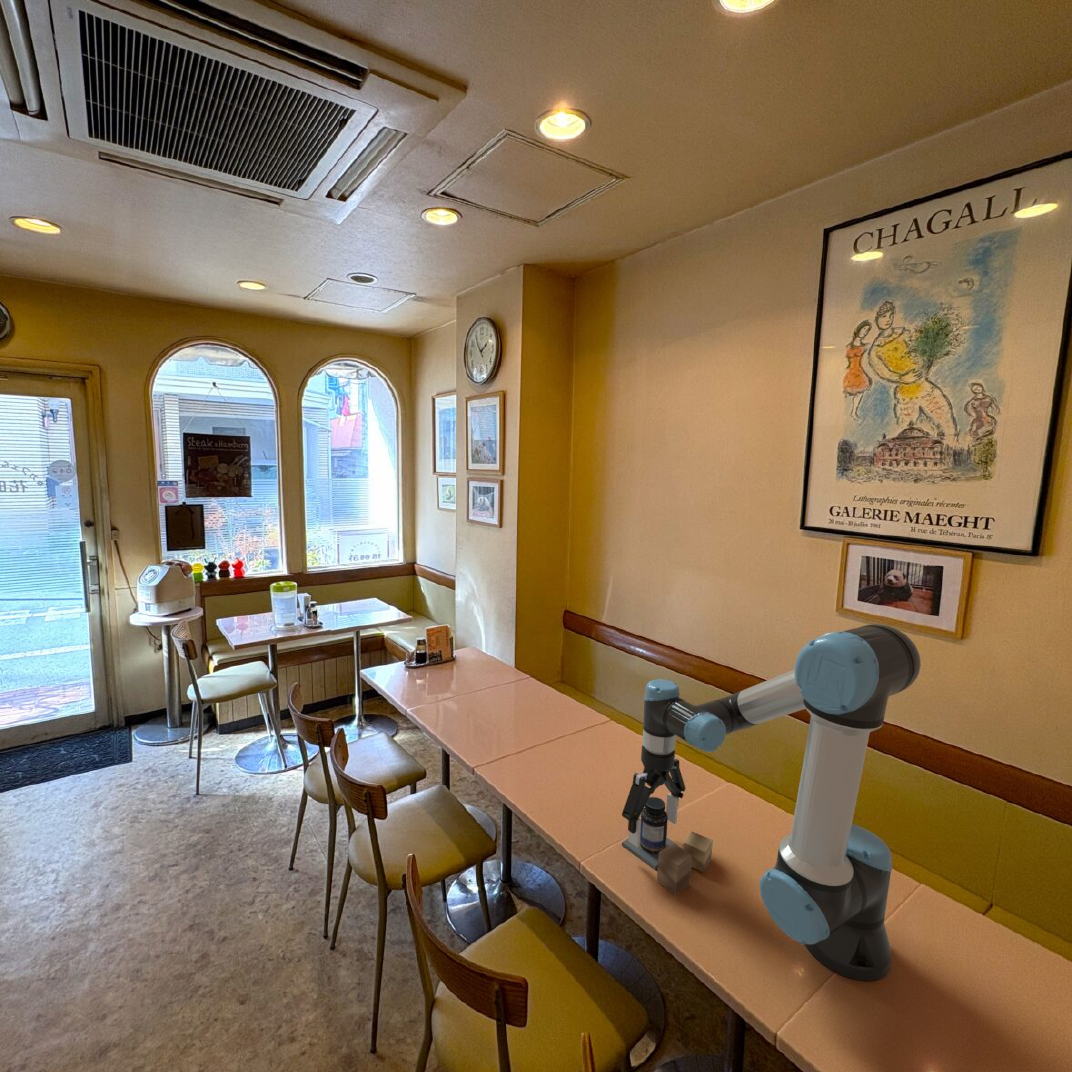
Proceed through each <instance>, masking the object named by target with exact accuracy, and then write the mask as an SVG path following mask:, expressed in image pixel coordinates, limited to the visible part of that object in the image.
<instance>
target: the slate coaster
mask: <svg viewBox="0 0 1072 1072" xmlns="http://www.w3.org/2000/svg"><path fill="white" fill-rule="evenodd" d="M672 843H674V844H676V845H677V846H679V847H680V848H682V849H683V847H682V846H680V845H679V844H677V843H676V842H674V841H673V840H671V839H670V838H669V837H667V838H666V847H668V846H669V845H671V844H672ZM621 846H622V847H624V849H626V850H628V851H629V852H630V853H631V854H633V855H634V856H636V857H637V858H639V859H640V860H641V861H642V862H644V863H645V864H647V866H650V867H651V868H652V869H654V870H658V856H659V853H650V852H647V851H645V850H644V849H643V848H642V847H641V845H639V847H636V846H635V845H633V844H632V843H630V842H629V841H628V838H627V839H625V840H623V841H622V842H621Z"/></svg>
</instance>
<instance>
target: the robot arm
mask: <svg viewBox="0 0 1072 1072" xmlns="http://www.w3.org/2000/svg"><path fill="white" fill-rule="evenodd" d="M920 655H921V654H920V652H919V651H918V648H917V645H916V644H915V643H914V641H913V640H912V639H911V638H910V637H909V636H908V635H907V634H906V633H904V632H902V631H901V630H899V629H897V628H894V627H892V626H890V625H884V624H878V623H877V624H876V623H875V624H874V623H873V624H866V625H862V626H859V627H855V628H854V627H853V628H850V629H847V630H842V631H839V630H838V631H833V632H832V631H831V632H827V633H824V634H822V635H821V636H819V637H817V638H814V639H812V640H811V641H809V642H807V643H806V644H804V646H803V647H802V649H801V650H800V651H799V653H798V654H797V657H796V659H795V662H794V663H795V664H794V669H792V670H790V671H788V672H785V673H782V674H780V675H777V676H775V677H772V678H770V679H768V680H765V681H762V682H760V683H758V684H755V685H753V686H749V687H747V688H745V689H743V690H740V691H738V692H735V693H732V694H730V695H728V696H727V695H726V696H723V697H721V698H717V699H714V700H710V701H707V702H704V703H700V704H697V705H695V704H692V703H691V702H689V701H687V700H684V699H683V698H681V697H680V695H681V694H680V688H679V685H678V684H677V683H675V682H674V681H671V680H670V679H669V680H668V679H664V678H659V679H653V680H649V681H648V682H647V683H646V685H645V693H644V697H643V701H644V703H643V704H644V706H643V724H642V727H643V728H642V729H643V730H642V743H641V744H642V746H641V754H640V758H641V759H640V761H641V762H642V765H643V771H642V773H641V774H639V773H636V772H635V773H634V774H633V778H632V784H631V786H630V790H629V792H628V795H627V797H626V798H627V799H626V801H625V804H624V807H623V809H622V812H621V816H622V817H623V818H624V819H626V820H627V822H628V824H627V830H628V837H627V839H628V841H629V842H630V843H632V844H633V845H635V846H636V847H639V845H640V829H641V813H642V811H643V809H644V808H645V805H646V803H647V801H648V799H649V797H651V795H652V794H654V793H655V791H656V789H658V788H659V787H660V786H663V785H664V786H665V787H666V789H667V790H668V791H669V792H668V793H667V794H666V804H665V811H666V813H667V816H668V822H671V823H672V824H674V825H676V824H677V821H678V807H679V801H680V799H683V797H684V792H685V791H686V785H685V781H684V779H683V776H682V772H681V768H680V760H679V759H677V758H676V744H677V737H679V738H680V739H681V740H683V741H685V742H686V743H688V744H689V745H690V746H691V747H694V748H696V749H700V750H701V751H703V752H706V753H712V752H715V751H717V750H718V747H721V746H722V745H723V743H724V740H725V738H726V736H727V735H730V734H732V733H736V732H739V731H742V730H745V729H750V728H752V727H754V726H756V725H759V724H763V723H766V722H769V721H772V720H775V719H778V718H782V717H784V716H787V715H790V714H794V713H796V712H800V711H803V710H806V711H807V712H808V714H809V715H810V719H809V725H808V726H809V727H808V731H807V732H808V733H807V738H806V745H805V751H804V754H803V755H804V756H803V761H802V769H801V773H800V780H799V784H798V791H797V797H796V802H795V809H794V815H793V820H792V825H791V831H790V834H787V835H785V836H784V837H782V838H781V839H780V842H779V844H778V850H777V851H778V852H777V857H776V862H775V865H774V867H772V868H769V869H767V870H766V872H765V873H763V875H761V877H760V880H759V892H760V897H761V899H762V903H763V905H764V907H765V909H766V911H768V914H769V916H770V918H771V920H773V922H774V923H775V924H776V925H777V927H778V928H779V929H780V930H781V931H782V932H783V933H784V934H785V935H787V936H788V937H790V938H791V939H792V940H794V941H796V942H798V943H800V944H803V945H805V947H806V949H807V950H808V951H809V952H810V954H811V955H812V956H813V957H814V958H816V960H817V961H818V962H819V963H820V964H822V965H823V966H825V967H827V968H828V969H830V970H831V971H833V972H835V973H836V974H839V975H841V976H844V977H846V978H849V979H852V980H856V981H862V982H873V981H878V980H880V979H883V978H884V977H886V975H887V974H888V973H889V971H890V969H891V962H892V950H891V946H890V942H889V941H890V940H889V938H888V933H887V929H886V925H885V917H886V910H887V902H888V896H889V888H890V881H891V873H892V871H893V866H892V860H893V859H892V858H893V856H892V852H891V849H890V848H889V847H888V845H887V843H885V841H884V840H883V839H881V838H880V837H879V836H878V835H876V834H875V833H873V832H871V831H870V830H867V829H865V828H863V827H861V826H858V825H856V824H853V819H854V816H855V815H854V814H855V809H856V806H857V800H858V799H857V798H858V796H859V795H858V794H859V790H860V789H859V788H860V786H861V785H860V783H861V779H862V773H863V769H864V764H865V758H866V752H867V748H868V743H869V739H870V738H869V737H870V733H871V732H874V731H877V730H879V729H881V728H882V727H883V725H884V719H885V717H886V710H887V706H888V700H889V698H890V697H891V696H894V695H896V694H899V693H901V692H903V691H905V690H907V689H908V688H910V686H912V685H913V684H914V683H915V681H916V680H917V679H918V676H919V674H920V670H921V656H920ZM646 785H647V786H646ZM679 798H680V799H679Z"/></svg>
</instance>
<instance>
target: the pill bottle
mask: <svg viewBox="0 0 1072 1072" xmlns="http://www.w3.org/2000/svg"><path fill="white" fill-rule="evenodd" d="M640 819H641V829H640V845H641V847H642V848H643V849H644V850H645V851H647V852H650V853H659V852H660V851H661V850H663V849H665V848H666V838H668V836H667V835H668V822H669V820H668V816H667V813H666V803H665V801H664V799H662V798H660V797H657V796H650V797H649V799H648V801H647V803H646V805H645V807H644V809H643V811H642V813H641V815H640Z"/></svg>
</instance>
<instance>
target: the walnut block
mask: <svg viewBox="0 0 1072 1072" xmlns="http://www.w3.org/2000/svg"><path fill="white" fill-rule="evenodd" d="M674 843H675V842H674ZM674 843H672V844H671V845H669V846H668V847H666V848H665V849H663V850H661V851H660V852H659V856H658V868H657V873H656V874H657V875H656V883H658V884H660V885H661V886H662V887H664V888H665V889H666V890H667V891H670V893H672V894H673V895H674V896H677V895H678V894H680V893H681V892H682V891H683V890H685V889H687V888H688V887H689V886H690V885H691V875H692V866H691V864H692V855H691V854H689V853H688V852H686V851H685V850H683V849H682V848H683V847H682V848H680V847H681V846H680V845H679V846H680V847H679V846H677V845H678V844H677V843H676V844H677V845H676V844H674Z"/></svg>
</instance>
